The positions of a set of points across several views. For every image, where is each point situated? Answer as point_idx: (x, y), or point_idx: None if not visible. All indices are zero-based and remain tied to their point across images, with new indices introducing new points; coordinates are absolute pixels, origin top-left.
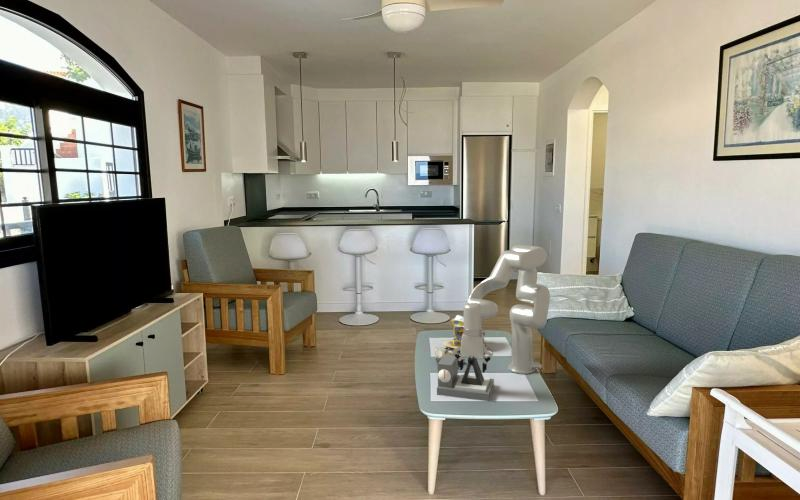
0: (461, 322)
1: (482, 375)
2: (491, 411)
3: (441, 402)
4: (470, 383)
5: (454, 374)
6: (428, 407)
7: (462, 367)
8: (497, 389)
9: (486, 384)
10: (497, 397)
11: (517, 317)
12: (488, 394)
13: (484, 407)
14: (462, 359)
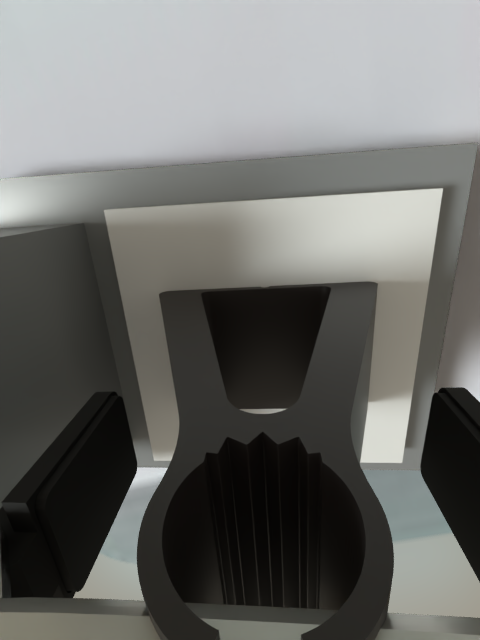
0: None
1: (374, 303)
2: (421, 528)
3: (138, 502)
4: (261, 405)
5: (74, 388)
6: (104, 551)
7: (122, 452)
8: (469, 233)
9: (406, 370)
10: (462, 371)
11: None
12: (418, 467)
13: (379, 501)
14: (34, 526)
